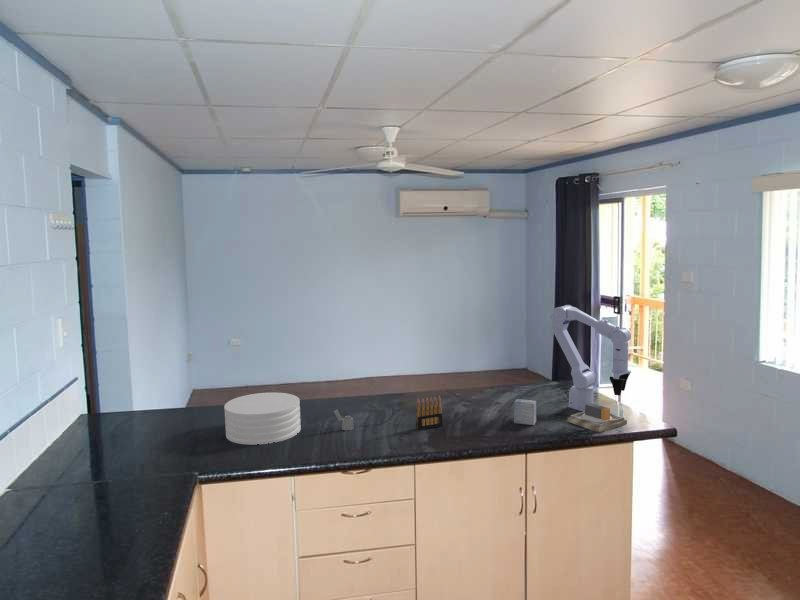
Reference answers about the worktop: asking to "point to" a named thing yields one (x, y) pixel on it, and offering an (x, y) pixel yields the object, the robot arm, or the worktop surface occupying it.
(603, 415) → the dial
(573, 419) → the square tray
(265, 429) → the plate stack
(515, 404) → the medicine box
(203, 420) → the worktop surface
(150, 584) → the worktop surface
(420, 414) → the ammunition clip
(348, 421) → the lighter
